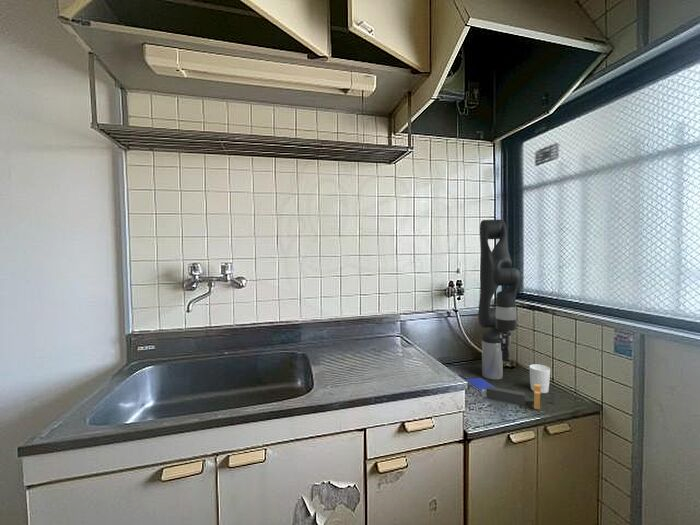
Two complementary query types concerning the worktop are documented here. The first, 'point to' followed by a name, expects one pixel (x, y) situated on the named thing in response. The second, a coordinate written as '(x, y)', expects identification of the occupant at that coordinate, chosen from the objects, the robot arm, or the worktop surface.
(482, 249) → the robot arm
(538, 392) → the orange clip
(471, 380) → the hard drive
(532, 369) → the white cup
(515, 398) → the gray rectangular block
